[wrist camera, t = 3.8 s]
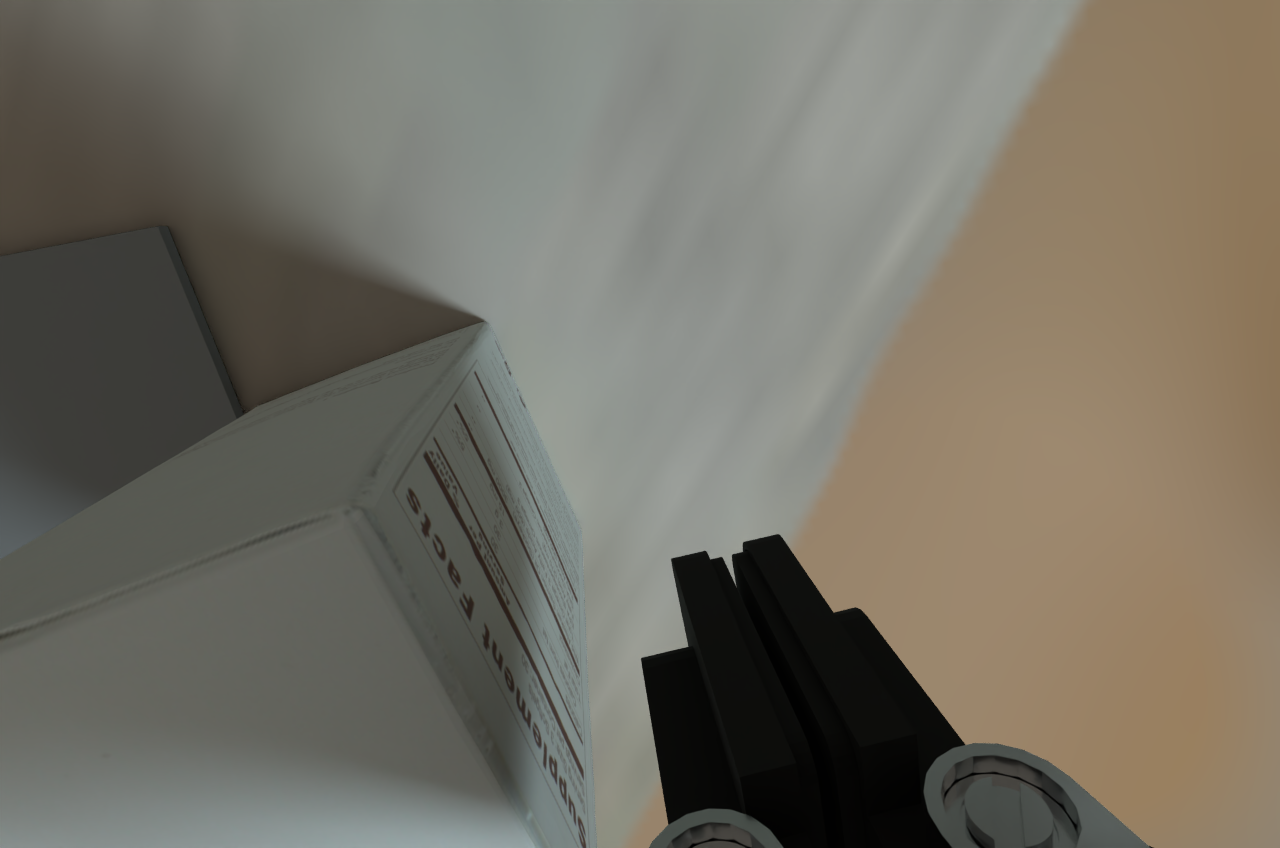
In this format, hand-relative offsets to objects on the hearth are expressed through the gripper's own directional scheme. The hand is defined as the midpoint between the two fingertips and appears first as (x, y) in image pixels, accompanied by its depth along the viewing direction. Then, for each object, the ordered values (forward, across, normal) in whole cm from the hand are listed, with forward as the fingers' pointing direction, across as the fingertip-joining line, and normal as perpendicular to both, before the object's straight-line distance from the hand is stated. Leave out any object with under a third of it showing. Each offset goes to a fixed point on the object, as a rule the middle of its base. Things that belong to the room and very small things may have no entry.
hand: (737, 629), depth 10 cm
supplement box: (+10, +7, 0) cm, 12 cm away
